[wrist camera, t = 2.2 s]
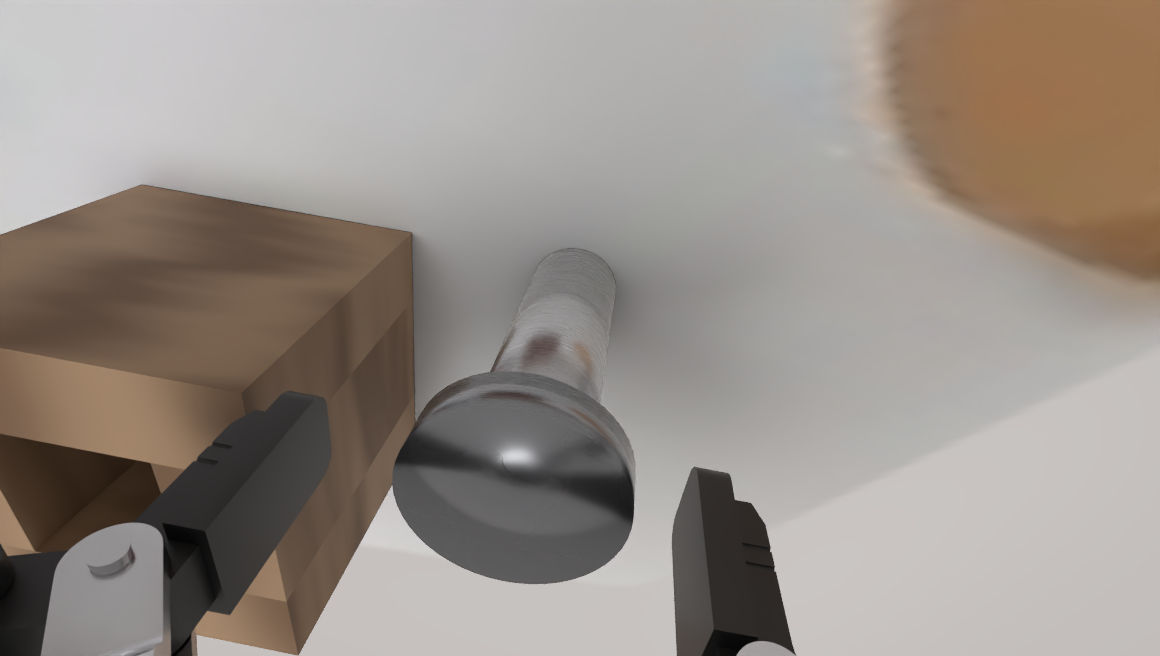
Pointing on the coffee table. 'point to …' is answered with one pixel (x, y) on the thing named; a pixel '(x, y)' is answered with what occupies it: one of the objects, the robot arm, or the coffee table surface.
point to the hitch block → (200, 374)
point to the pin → (528, 443)
